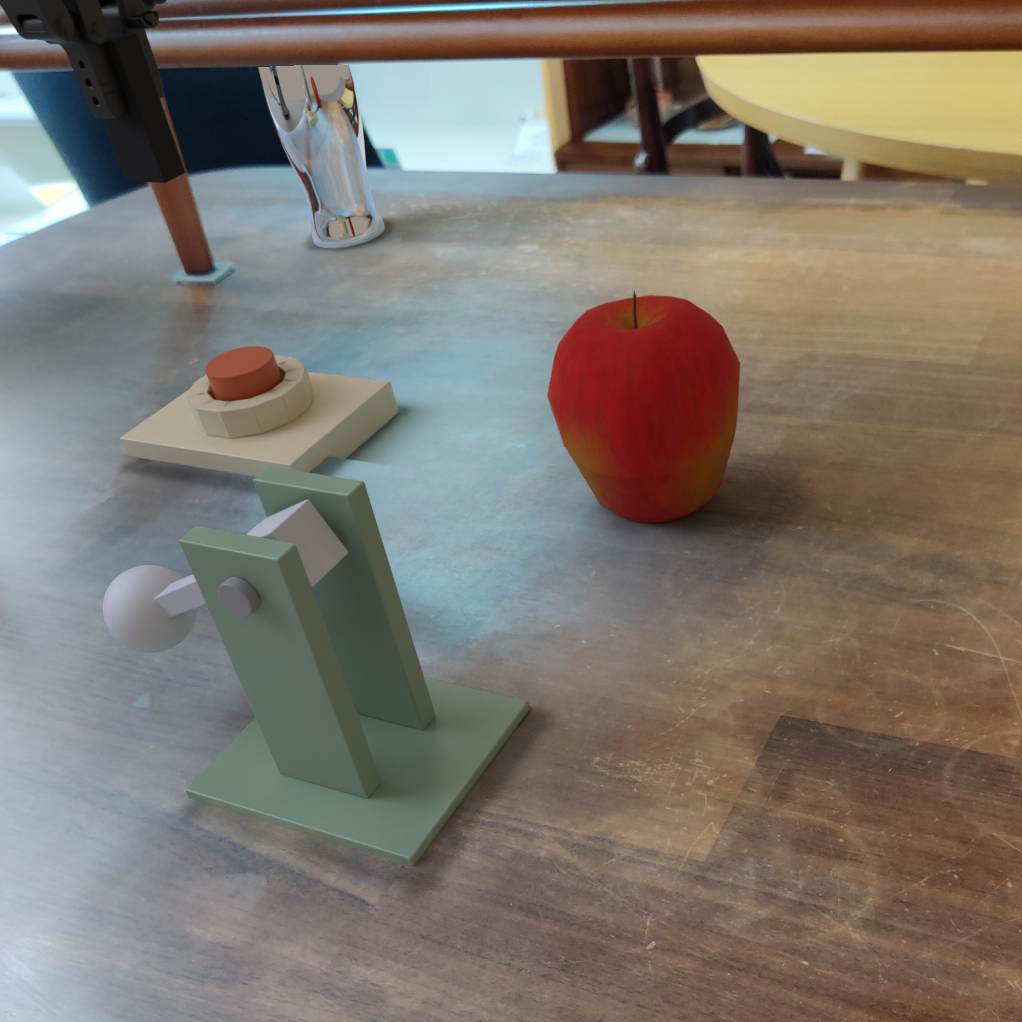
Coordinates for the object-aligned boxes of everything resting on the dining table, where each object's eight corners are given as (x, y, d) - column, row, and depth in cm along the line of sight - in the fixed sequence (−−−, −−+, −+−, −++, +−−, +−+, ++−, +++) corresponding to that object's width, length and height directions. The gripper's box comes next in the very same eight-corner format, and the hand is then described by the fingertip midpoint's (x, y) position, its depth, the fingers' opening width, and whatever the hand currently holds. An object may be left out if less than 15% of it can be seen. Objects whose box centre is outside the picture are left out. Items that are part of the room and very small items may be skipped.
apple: (749, 459, 65) (734, 243, 58) (750, 554, 58) (733, 323, 51) (581, 470, 66) (544, 260, 59) (562, 565, 60) (518, 341, 52)
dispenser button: (201, 400, 71) (190, 373, 70) (244, 369, 74) (234, 343, 73) (253, 407, 69) (243, 380, 68) (295, 375, 72) (286, 348, 71)
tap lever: (128, 677, 50) (68, 609, 49) (186, 625, 52) (130, 559, 51) (311, 613, 42) (245, 529, 40) (370, 554, 44) (310, 473, 43)
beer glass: (362, 214, 105) (312, 26, 95) (406, 229, 100) (358, 34, 91) (293, 241, 101) (234, 49, 92) (335, 257, 97) (278, 58, 88)
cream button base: (132, 469, 73) (106, 410, 70) (238, 392, 80) (217, 335, 77) (301, 498, 68) (280, 436, 65) (399, 412, 75) (383, 353, 72)
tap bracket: (195, 813, 49) (64, 558, 41) (326, 674, 55) (234, 428, 47) (419, 883, 45) (322, 613, 37) (534, 724, 51) (472, 463, 43)
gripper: (-157, -464, 40) (117, 229, 55) (121, -462, 49) (293, 136, 64) (-289, -427, 43) (4, 221, 58) (-5, -431, 52) (187, 133, 67)
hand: (155, 176), depth 61 cm, fingers closed
